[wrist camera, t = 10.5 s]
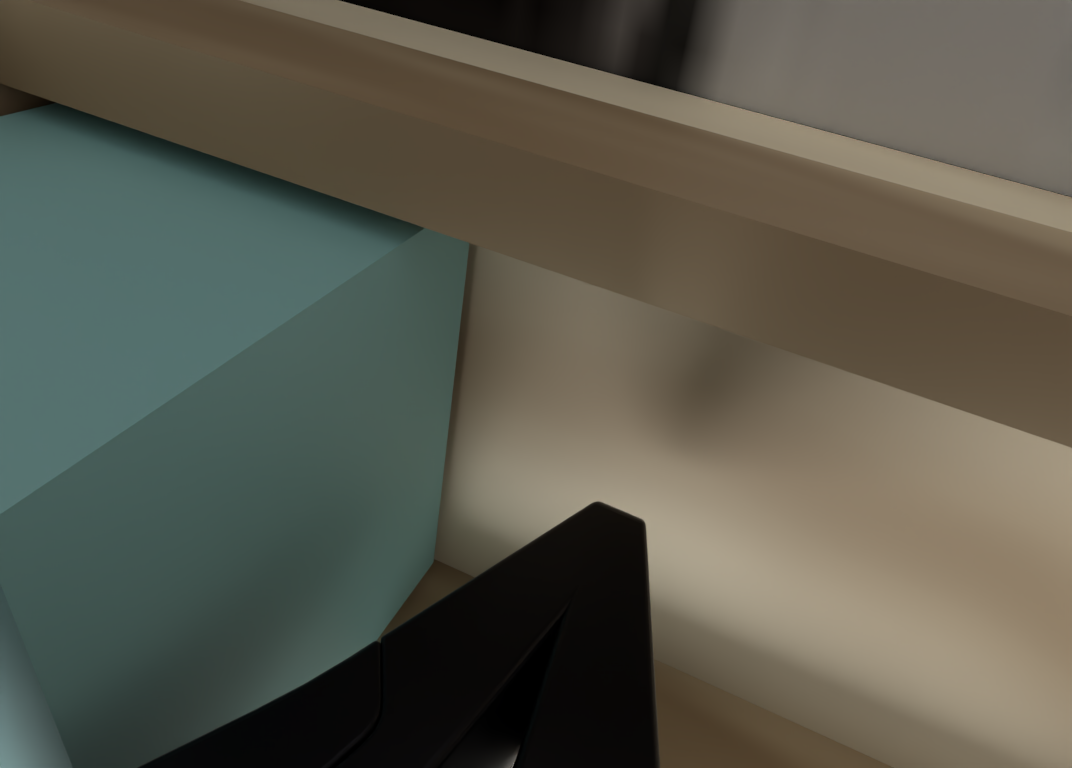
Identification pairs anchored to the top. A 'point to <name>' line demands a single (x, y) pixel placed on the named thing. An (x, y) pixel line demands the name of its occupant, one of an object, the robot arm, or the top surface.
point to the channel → (686, 359)
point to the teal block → (201, 435)
